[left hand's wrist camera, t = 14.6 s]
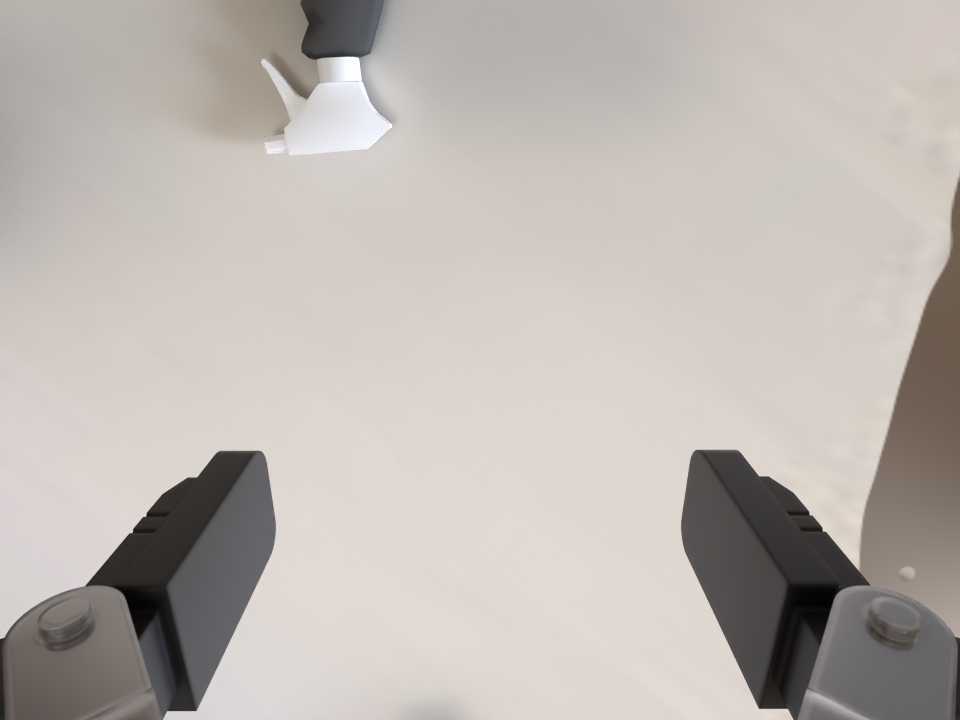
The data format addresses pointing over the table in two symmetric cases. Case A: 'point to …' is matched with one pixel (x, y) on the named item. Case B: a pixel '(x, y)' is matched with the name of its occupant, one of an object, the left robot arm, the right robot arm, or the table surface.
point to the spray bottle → (332, 82)
